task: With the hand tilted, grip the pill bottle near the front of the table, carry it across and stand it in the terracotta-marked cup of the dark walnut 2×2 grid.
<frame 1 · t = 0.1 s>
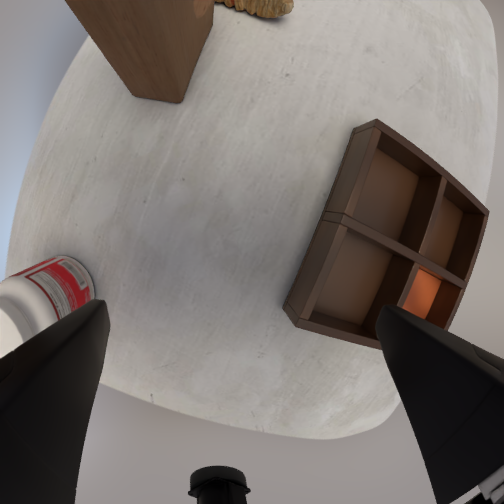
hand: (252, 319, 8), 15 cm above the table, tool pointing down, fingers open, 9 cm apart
wooden block: (173, 57, 20), on the table
pill bottle: (68, 287, 22), on the table
grid: (394, 251, 26), on the table
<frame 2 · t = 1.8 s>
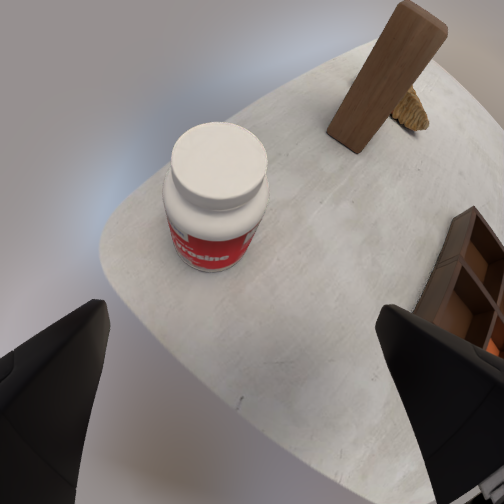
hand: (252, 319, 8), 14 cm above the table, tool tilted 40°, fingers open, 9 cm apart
fossil: (391, 102, 35), on the table
wooden block: (353, 126, 31), on the table
pill bottle: (211, 238, 24), on the table
grid: (472, 315, 26), on the table
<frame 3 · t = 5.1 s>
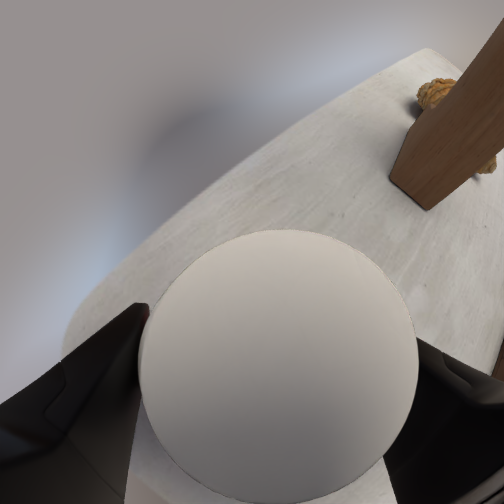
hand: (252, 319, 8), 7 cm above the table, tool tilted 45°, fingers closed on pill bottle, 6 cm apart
fossil: (448, 134, 26), on the table
wooden block: (416, 167, 22), on the table
pill bottle: (231, 361, 14), on the table, touching gripper
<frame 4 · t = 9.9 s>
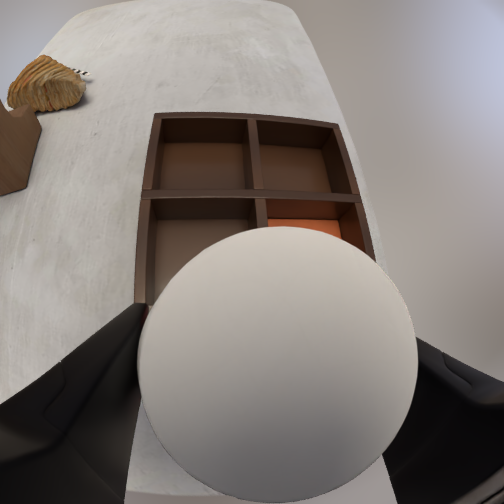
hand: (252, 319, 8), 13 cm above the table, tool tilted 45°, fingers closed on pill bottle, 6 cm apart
fossil: (59, 94, 27), on the table
wooden block: (20, 161, 23), on the table
pill bottle: (230, 360, 14), point 7 cm above the table, touching gripper
grid: (251, 217, 25), on the table
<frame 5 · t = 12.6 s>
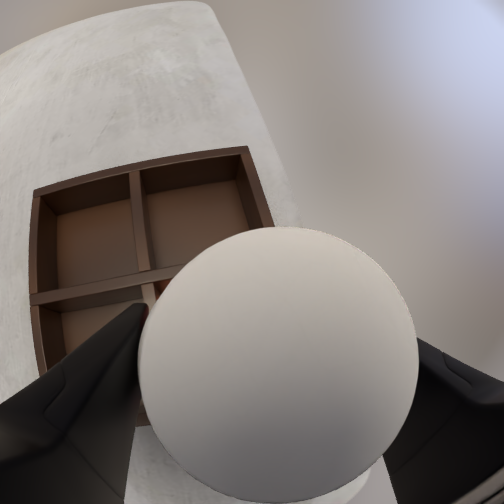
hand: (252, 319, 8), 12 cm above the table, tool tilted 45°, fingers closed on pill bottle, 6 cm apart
pill bottle: (231, 360, 14), point 5 cm above the table, touching gripper
grid: (156, 291, 20), on the table
when the fingers open (7 cm above the table, at t = 14.6 s): pill bottle stays where it is, resting on grid.
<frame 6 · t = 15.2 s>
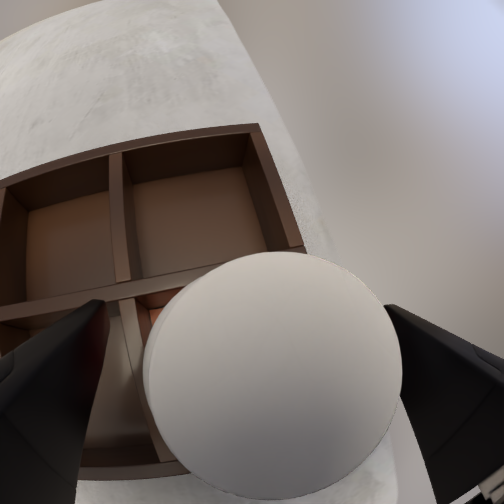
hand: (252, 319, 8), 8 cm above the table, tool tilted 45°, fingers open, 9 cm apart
pill bottle: (230, 364, 15), point 1 cm above the table, touching grid
grid: (142, 306, 15), on the table
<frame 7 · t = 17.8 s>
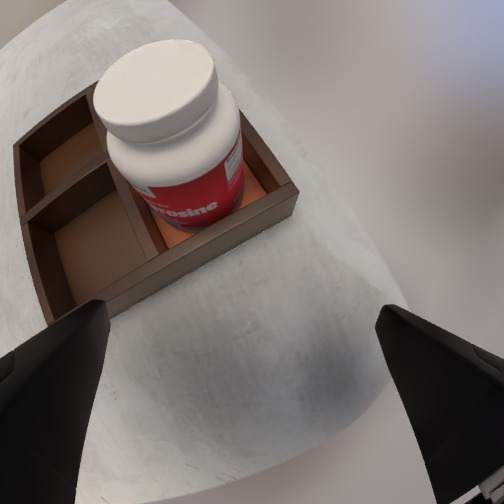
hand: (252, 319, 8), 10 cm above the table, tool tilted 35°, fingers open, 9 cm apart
pill bottle: (200, 192, 19), point 1 cm above the table, touching grid
grid: (131, 179, 20), on the table
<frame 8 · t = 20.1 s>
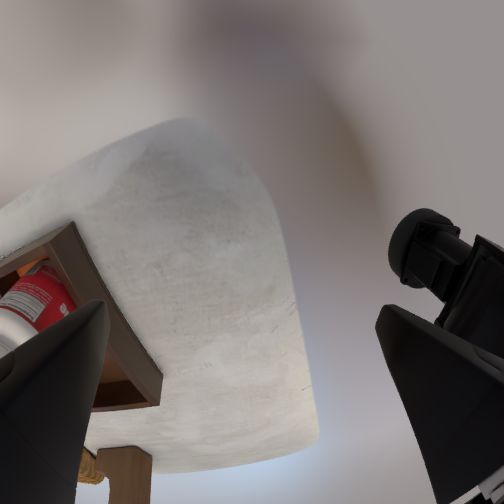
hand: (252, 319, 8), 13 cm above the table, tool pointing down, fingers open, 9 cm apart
fossil: (72, 447, 34), on the table
wooden block: (124, 452, 34), on the table
pill bottle: (58, 288, 21), point 1 cm above the table, touching grid
grid: (54, 329, 23), on the table
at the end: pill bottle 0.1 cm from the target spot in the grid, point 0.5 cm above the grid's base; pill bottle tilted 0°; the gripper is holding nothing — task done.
